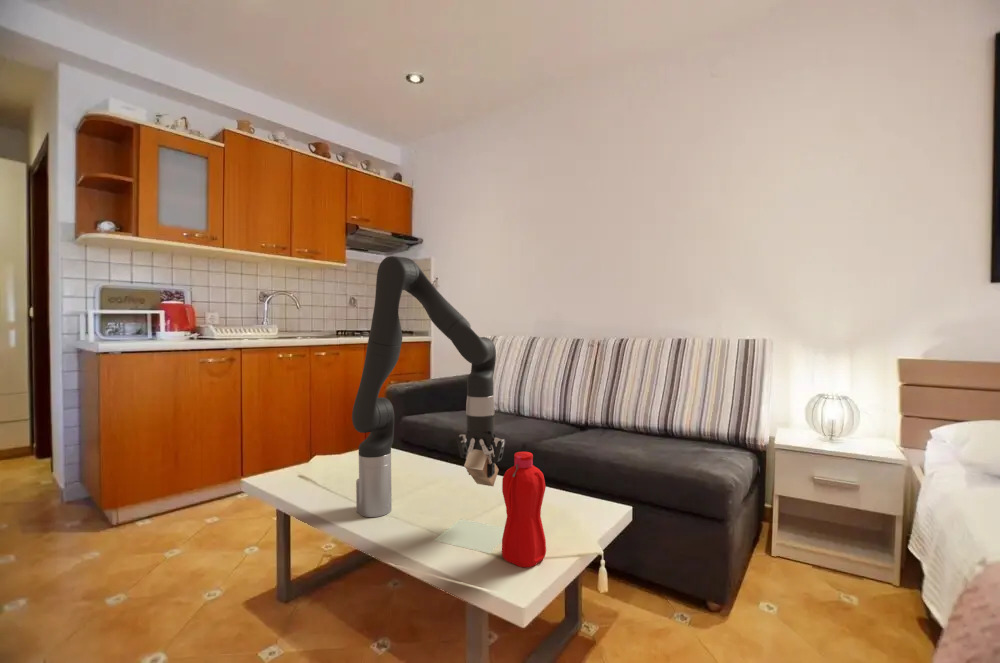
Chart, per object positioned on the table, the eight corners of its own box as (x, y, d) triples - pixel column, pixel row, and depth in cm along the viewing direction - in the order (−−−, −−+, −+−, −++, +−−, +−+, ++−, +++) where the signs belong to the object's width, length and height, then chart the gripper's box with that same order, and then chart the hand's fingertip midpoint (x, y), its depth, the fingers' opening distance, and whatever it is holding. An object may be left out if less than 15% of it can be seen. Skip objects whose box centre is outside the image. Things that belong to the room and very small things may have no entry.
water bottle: (491, 563, 106) (490, 455, 105) (520, 544, 114) (519, 445, 114) (523, 577, 100) (523, 463, 99) (551, 556, 108) (551, 452, 108)
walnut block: (476, 483, 125) (464, 465, 119) (482, 467, 129) (470, 448, 122) (493, 486, 123) (481, 468, 117) (498, 469, 126) (487, 450, 120)
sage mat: (433, 542, 116) (433, 540, 116) (460, 520, 128) (460, 518, 128) (490, 555, 109) (490, 553, 109) (513, 530, 122) (513, 529, 122)
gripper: (449, 412, 121) (450, 476, 122) (498, 417, 115) (499, 484, 116) (463, 407, 128) (464, 468, 128) (510, 411, 122) (511, 474, 122)
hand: (480, 475), depth 122 cm, fingers closed on walnut block, 5 cm apart
